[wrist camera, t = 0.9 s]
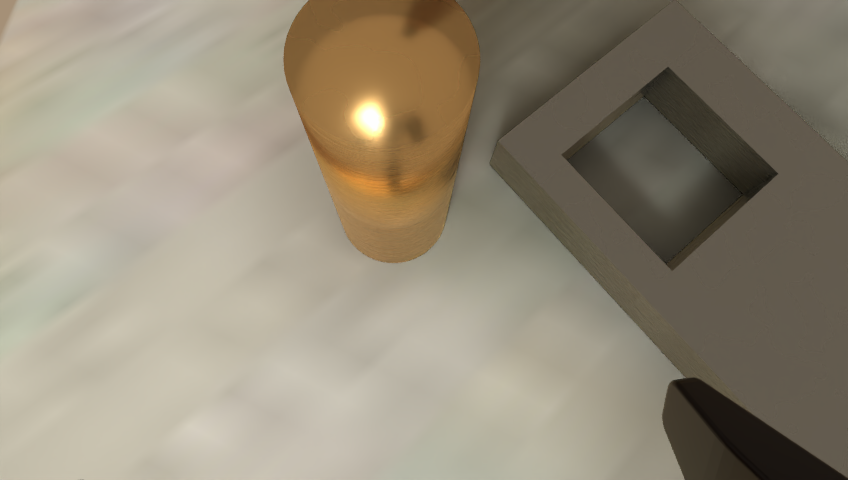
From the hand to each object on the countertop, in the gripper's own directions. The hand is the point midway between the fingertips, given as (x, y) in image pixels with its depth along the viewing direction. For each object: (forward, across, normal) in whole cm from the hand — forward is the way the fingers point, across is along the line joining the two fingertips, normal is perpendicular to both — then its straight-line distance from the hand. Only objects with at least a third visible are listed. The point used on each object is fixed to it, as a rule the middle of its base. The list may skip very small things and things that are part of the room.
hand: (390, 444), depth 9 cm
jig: (+13, -14, +7) cm, 21 cm away
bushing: (+16, -1, +5) cm, 16 cm away
